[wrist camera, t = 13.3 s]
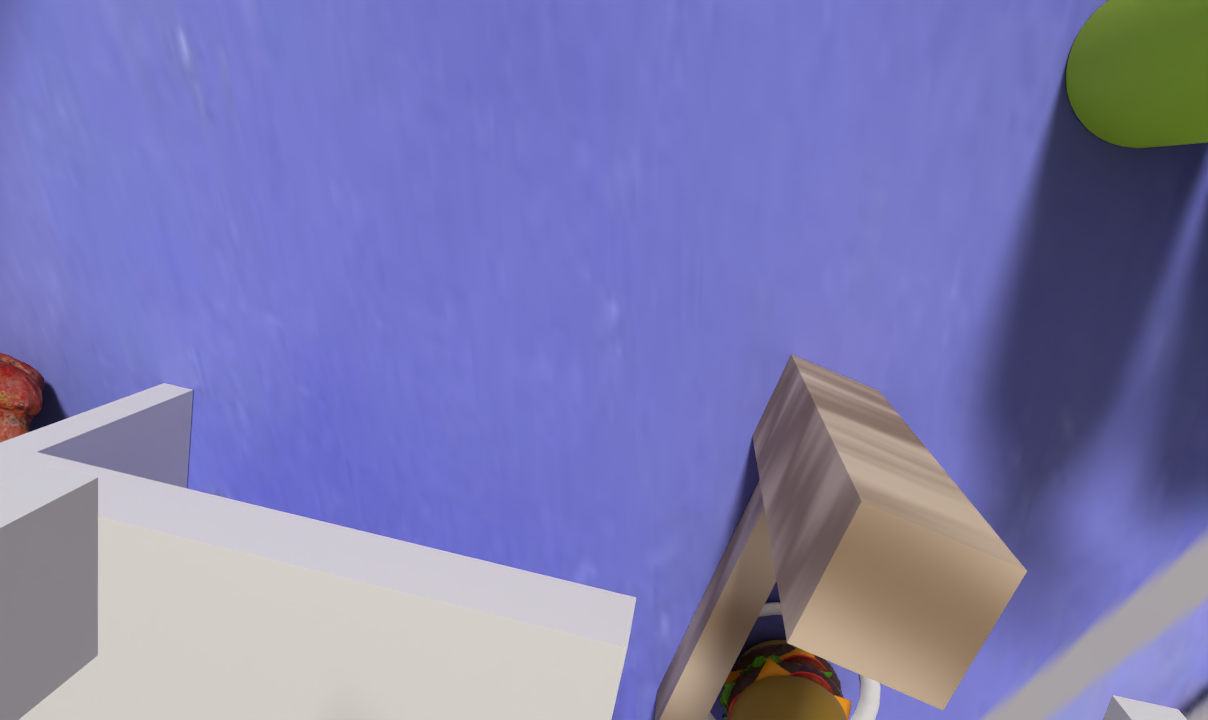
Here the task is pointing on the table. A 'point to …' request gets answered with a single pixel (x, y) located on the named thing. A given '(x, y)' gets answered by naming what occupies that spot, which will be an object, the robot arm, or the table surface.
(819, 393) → the block
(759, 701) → the hamburger
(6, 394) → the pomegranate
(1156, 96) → the soap dispenser
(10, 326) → the table surface
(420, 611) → the shelf
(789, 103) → the table surface
